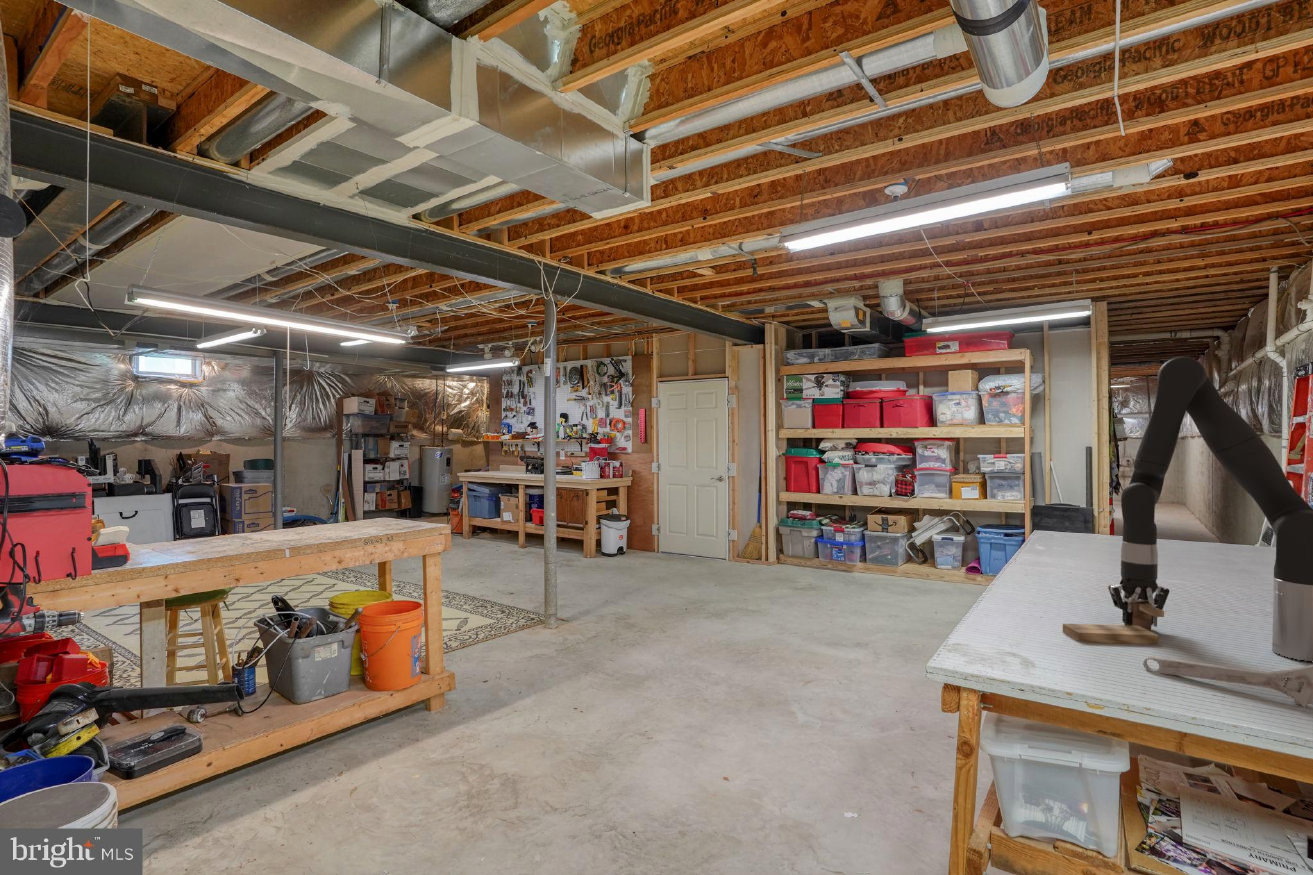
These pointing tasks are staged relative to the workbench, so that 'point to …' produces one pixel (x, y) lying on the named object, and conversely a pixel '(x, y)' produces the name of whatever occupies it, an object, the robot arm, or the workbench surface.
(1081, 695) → the workbench surface
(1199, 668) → the wrench
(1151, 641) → the board
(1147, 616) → the gauge
